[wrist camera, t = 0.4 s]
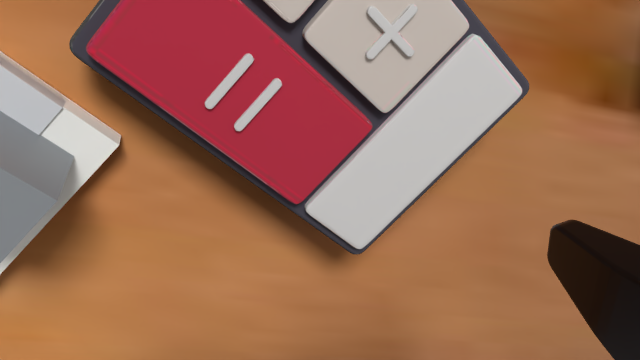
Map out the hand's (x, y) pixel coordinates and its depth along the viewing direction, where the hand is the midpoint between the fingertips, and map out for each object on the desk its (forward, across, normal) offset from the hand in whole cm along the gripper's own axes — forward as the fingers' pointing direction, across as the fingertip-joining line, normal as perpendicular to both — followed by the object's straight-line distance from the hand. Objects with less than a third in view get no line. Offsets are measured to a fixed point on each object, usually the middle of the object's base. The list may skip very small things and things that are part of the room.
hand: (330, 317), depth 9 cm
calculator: (+15, -3, +1) cm, 15 cm away
